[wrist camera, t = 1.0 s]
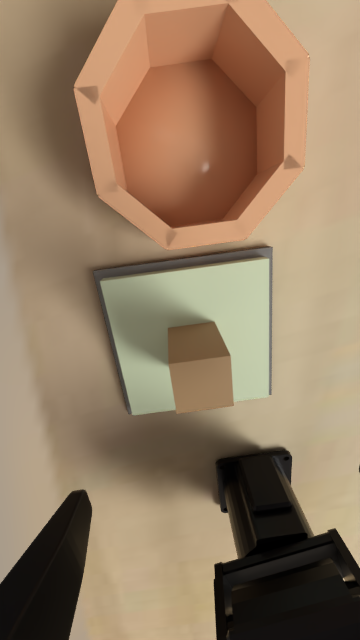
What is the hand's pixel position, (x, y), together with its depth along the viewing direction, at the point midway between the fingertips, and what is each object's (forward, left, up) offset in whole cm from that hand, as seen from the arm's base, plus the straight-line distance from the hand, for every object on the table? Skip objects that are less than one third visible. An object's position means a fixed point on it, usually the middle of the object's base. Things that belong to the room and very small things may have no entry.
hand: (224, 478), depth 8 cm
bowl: (+11, -1, -11) cm, 15 cm away
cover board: (0, 0, -10) cm, 10 cm away
